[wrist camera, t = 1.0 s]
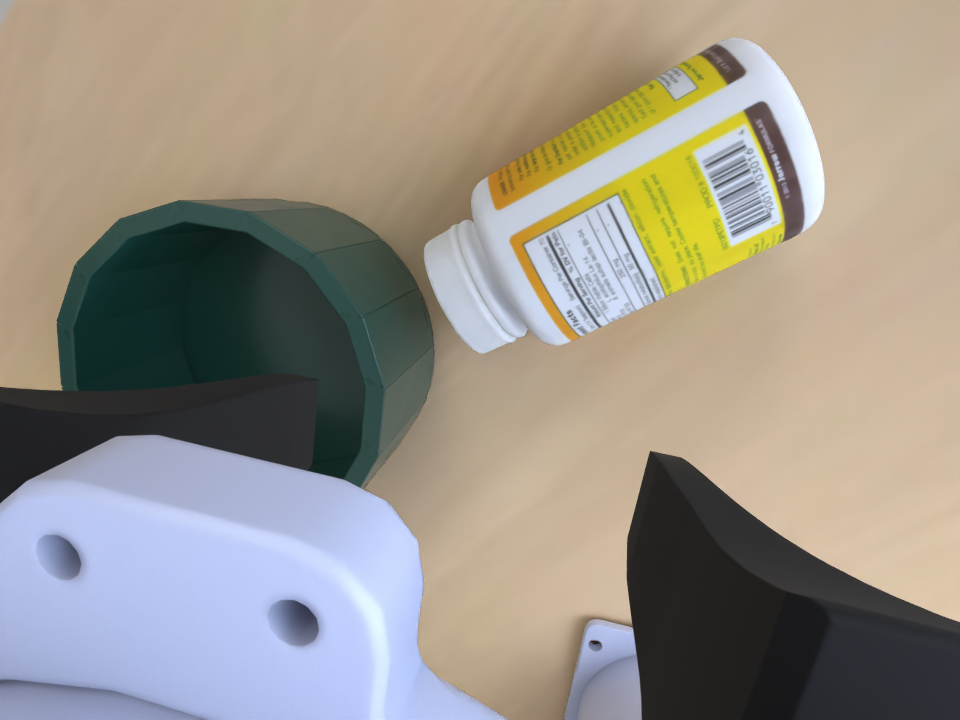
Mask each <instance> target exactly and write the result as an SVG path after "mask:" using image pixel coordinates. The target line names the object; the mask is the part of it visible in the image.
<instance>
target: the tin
mask: <svg viewBox="0 0 960 720" xmlns="http://www.w3.org/2000/svg"><path fill="white" fill-rule="evenodd" d="M57 336H58V350H59V363H60V377H61V385H62V386H63V387H62V390H63V391H124V390H144V389H157V388H168V387H176V386H184V385H193V384H201V383H209V382H216V381H223V380H230V379H237V378H244V377H251V376H259V375H268V374H283V373H285V374H296V375H300V376H305V377H310V378H314V379H319V380H318V394H317V407H316V421H315V434H314V448H313V461H312V464H311V466H310V467H309V469H308V470H307V471H310V472H314V473H318V474H322V475H326V476H331V477H335V478H339V479H343V480H346V481H348V482H350V483H352V484H354V485H356V486H358V487H359V488H361V489H364V488H365V486H366V485H367V484H368V483H369V481H370V480H371V479H372V478H373V476H374V475H375V474H376V473H377V471H378V470H379V469H380V468H381V466H382V465H383V464H384V463H385V461H386V460H387V459H388V458H389V456H390V455H391V454H392V453H393V451H394V450H395V449H396V448H397V446H398V445H399V444H400V443H401V441H402V440H403V438H404V436H405V435H406V433H407V431H408V430H409V428H410V426H411V425H412V424H413V422H414V421H415V419H416V418H417V416H418V414H419V412H420V410H421V408H422V406H423V405H424V403H425V401H426V399H427V394H428V391H429V388H430V383H431V378H432V373H433V364H434V343H433V332H432V327H431V322H430V317H429V313H428V310H427V308H426V305H425V302H424V299H423V296H422V294H421V292H420V290H419V288H418V286H417V284H416V282H415V280H414V278H413V276H412V275H411V273H410V272H409V270H408V269H407V267H406V266H405V264H404V263H403V261H402V260H401V259H400V258H399V257H398V255H397V254H396V253H395V252H394V251H393V249H392V248H391V247H390V246H389V245H388V244H387V243H386V242H384V241H383V240H382V239H381V238H380V237H379V236H378V235H377V234H376V233H374V232H373V231H372V230H370V229H369V228H367V227H366V226H365V225H363V224H362V223H360V222H359V221H357V220H355V219H353V218H351V217H349V216H347V215H346V214H344V213H341V212H338V211H336V210H333V209H331V208H329V207H325V206H320V205H316V204H312V203H306V202H294V201H286V200H280V199H235V200H179V201H175V202H172V203H169V204H166V205H162V206H159V207H156V208H153V209H149V210H146V211H143V212H140V213H137V214H133V215H130V216H127V217H124V218H120V219H119V220H118V221H117V222H116V223H115V224H114V225H113V226H112V227H111V228H110V229H109V230H108V231H107V232H106V233H105V234H104V235H103V236H102V237H101V238H100V239H99V240H98V241H97V242H96V243H95V244H94V245H93V246H92V247H91V248H90V249H89V250H88V251H87V252H86V253H85V254H84V255H83V256H82V257H81V258H80V259H79V260H78V261H77V264H75V266H74V269H73V272H72V275H71V278H70V281H69V284H68V287H67V291H66V294H65V297H64V300H63V303H62V306H61V309H60V312H59V315H58V318H57Z"/></svg>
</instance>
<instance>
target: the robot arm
mask: <svg viewBox="0 0 960 720" xmlns="http://www.w3.org/2000/svg"><path fill="white" fill-rule="evenodd" d="M318 380H319V379H314V378H310V377H305V376H300V375H296V374H285V373H283V374H268V375H259V376H251V377H244V378H237V379H230V380H223V381H216V382H209V383H201V384H193V385H184V386H176V387H168V388H157V389H144V390H124V391H54V390H33V389H18V388H5V387H0V720H508V719H507V718H505V717H503V716H502V715H500V714H499V713H497V712H495V711H494V710H492V709H490V708H489V707H487V706H485V705H484V704H482V703H481V702H479V701H477V700H476V699H474V698H472V697H471V696H469V695H467V694H466V693H464V692H463V691H461V690H459V689H458V688H456V687H454V686H453V685H451V684H450V683H448V682H446V681H445V680H443V679H441V678H440V677H438V676H437V675H435V674H434V673H433V672H432V671H431V670H430V669H429V668H428V666H427V665H426V664H425V663H424V661H423V660H422V658H421V655H420V652H419V648H418V622H419V615H420V608H421V601H422V595H423V588H424V580H423V573H422V566H421V560H420V553H419V546H418V540H417V539H416V538H415V536H414V535H413V534H412V533H411V531H410V530H409V529H408V527H407V526H406V525H405V523H404V522H403V521H402V519H401V518H400V517H399V516H398V514H397V513H396V512H395V510H394V509H393V508H392V506H391V505H390V504H389V502H387V501H385V500H383V499H381V498H379V497H377V496H375V495H373V494H371V493H369V492H367V491H365V490H363V489H361V488H359V487H358V486H356V485H354V484H352V483H350V482H348V481H346V480H343V479H339V478H335V477H331V476H326V475H322V474H318V473H314V472H310V471H307V470H308V469H309V467H310V466H311V464H312V461H313V448H314V434H315V421H316V407H317V394H318ZM627 585H628V594H629V602H630V610H631V617H632V625H633V627H628V626H624V625H620V624H616V623H612V622H608V621H604V620H600V619H593V620H590V621H589V622H587V624H586V626H585V629H584V634H583V638H582V642H581V647H580V651H579V655H578V659H577V664H576V668H575V672H574V677H573V681H572V685H571V689H570V694H569V698H568V702H567V707H566V711H565V715H564V719H563V720H960V622H957V621H954V620H951V619H949V618H946V617H943V616H941V615H938V614H935V613H933V612H931V611H928V610H926V609H923V608H921V607H919V606H916V605H914V604H911V603H909V602H906V601H904V600H902V599H899V598H897V597H894V596H892V595H890V594H888V593H886V592H883V591H881V590H879V589H877V588H875V587H872V586H870V585H868V584H866V583H864V582H862V581H860V580H858V579H856V578H854V577H852V576H850V575H848V574H846V573H844V572H842V571H840V570H838V569H837V568H835V567H833V566H831V565H829V564H827V563H825V562H824V561H822V560H820V559H818V558H816V557H815V556H813V555H811V554H810V553H808V552H806V551H805V550H803V549H801V548H800V547H798V546H797V545H795V544H793V543H792V542H790V541H789V540H787V539H785V538H784V537H782V536H781V535H779V534H778V533H776V532H775V531H773V530H772V529H771V528H769V527H768V526H766V525H765V524H764V523H762V522H761V521H760V520H758V519H757V518H756V517H754V516H753V515H752V514H750V513H749V512H748V511H746V510H745V509H744V508H743V507H741V506H740V505H739V504H738V503H736V502H735V501H734V500H733V499H731V498H730V497H729V496H728V495H727V494H725V493H724V492H723V491H722V490H721V489H720V488H718V487H717V486H716V485H715V484H714V483H713V482H711V481H710V480H709V479H708V478H707V477H706V476H705V475H703V474H702V473H701V472H700V471H699V470H698V469H696V468H695V467H694V466H693V465H691V464H690V463H689V462H687V461H686V460H684V459H683V458H680V457H676V456H671V455H666V454H662V453H657V452H653V451H650V453H649V457H648V461H647V465H646V469H645V472H644V476H643V480H642V484H641V488H640V492H639V496H638V499H637V503H636V507H635V511H634V515H633V519H632V523H631V527H630V530H629V534H628V539H627ZM592 640H597V641H599V642H600V643H599V644H593V643H591V642H590V641H592Z"/></svg>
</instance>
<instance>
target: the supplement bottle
mask: <svg viewBox="0 0 960 720" xmlns="http://www.w3.org/2000/svg"><path fill="white" fill-rule="evenodd" d="M824 194H825V184H824V174H823V167H822V163H821V159H820V154H819V150H818V147H817V144H816V140H815V137H814V134H813V131H812V129H811V126H810V123H809V121H808V118H807V116H806V114H805V111H804V109H803V107H802V105H801V103H800V101H799V99H798V97H797V95H796V93H795V91H794V90H793V88H792V86H791V85H790V83H789V81H788V80H787V78H786V77H785V75H784V73H783V72H782V71H781V69H780V68H779V67H778V65H777V64H776V63H775V62H774V61H773V59H772V58H771V57H770V56H769V55H768V54H767V53H766V52H765V51H764V50H763V49H761V48H760V47H759V46H758V45H756V44H754V43H753V42H750V41H748V40H746V39H741V38H729V39H725V40H722V41H720V42H718V43H716V44H714V45H712V46H710V47H708V48H707V49H705V50H703V51H701V52H700V53H698V54H696V55H695V56H693V57H691V58H690V59H688V60H686V61H685V62H683V63H681V64H679V65H678V66H676V67H674V68H673V69H671V70H669V71H668V72H666V73H664V74H662V75H661V76H659V77H657V78H656V79H654V80H652V81H650V82H649V83H647V84H645V85H643V86H642V87H640V88H638V89H637V90H635V91H633V92H632V93H630V94H628V95H626V96H625V97H623V98H621V99H619V100H618V101H616V102H614V103H612V104H611V105H609V106H607V107H606V108H604V109H602V110H600V111H599V112H597V113H596V114H594V115H592V116H590V117H588V118H587V119H585V120H583V121H582V122H580V123H578V124H577V125H575V126H573V127H571V128H570V129H568V130H566V131H565V132H563V133H561V134H559V135H558V136H556V137H554V138H553V139H551V140H549V141H547V142H546V143H544V144H542V145H541V146H539V147H537V148H536V149H534V150H532V151H530V152H529V153H527V154H525V155H523V156H522V157H520V158H518V159H516V160H515V161H513V162H511V163H510V164H508V165H506V166H504V167H503V168H501V169H499V170H497V171H496V172H494V173H492V174H490V175H489V176H487V177H486V178H484V179H483V180H481V181H480V182H479V183H478V184H477V185H476V187H475V188H474V190H473V193H472V197H471V210H472V216H473V221H474V222H472V221H470V220H464V221H462V222H461V223H459V225H458V224H454V225H453V226H451V228H450V229H449V230H447V231H445V232H444V233H442V234H440V235H439V236H437V237H435V238H433V239H432V240H430V241H429V242H427V244H426V245H425V248H424V262H425V267H426V271H427V275H428V278H429V281H430V283H431V286H432V289H433V291H434V294H435V296H436V298H437V300H438V302H439V304H440V306H441V308H442V310H443V312H444V314H445V315H446V317H447V319H448V320H449V322H450V324H451V325H452V327H453V328H454V330H455V331H456V332H457V334H458V335H459V336H460V337H461V339H462V340H463V341H464V342H465V343H466V344H467V345H468V346H469V347H470V348H471V349H473V350H474V351H476V352H478V353H487V352H489V351H491V350H494V349H496V348H498V347H500V346H503V345H505V344H507V343H512V342H514V341H515V340H516V338H520V337H523V336H524V335H525V334H526V332H527V327H528V329H529V330H530V331H531V332H532V333H533V334H534V335H535V336H536V337H537V338H538V339H540V340H541V341H543V342H545V343H547V344H550V345H563V344H566V343H568V342H571V341H573V340H576V339H578V338H580V337H582V336H584V335H586V334H588V333H590V332H592V331H594V330H596V329H598V328H600V327H603V326H605V325H607V324H609V323H611V322H613V321H615V320H617V319H620V318H622V317H624V316H626V315H628V314H630V313H633V312H635V311H637V310H639V309H641V308H643V307H645V306H647V305H649V304H651V303H653V302H656V301H658V300H660V299H662V298H664V297H666V296H668V295H670V294H672V293H675V292H677V291H679V290H681V289H684V288H686V287H688V286H690V285H692V284H694V283H696V282H698V281H701V280H703V279H705V278H706V277H709V276H711V275H713V274H715V273H717V272H720V271H722V270H724V269H726V268H728V267H730V266H732V265H734V264H737V263H739V262H741V261H743V260H745V259H747V258H749V257H752V256H754V255H756V254H758V253H760V252H762V251H764V250H766V249H769V248H771V247H773V246H775V245H777V244H779V243H782V242H784V241H786V240H789V239H791V238H792V237H794V236H796V235H798V234H800V233H802V232H803V231H805V230H807V229H808V228H809V227H810V226H811V225H812V224H813V223H814V222H815V221H816V220H817V218H818V216H819V214H820V212H821V210H822V206H823V202H824Z"/></svg>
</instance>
